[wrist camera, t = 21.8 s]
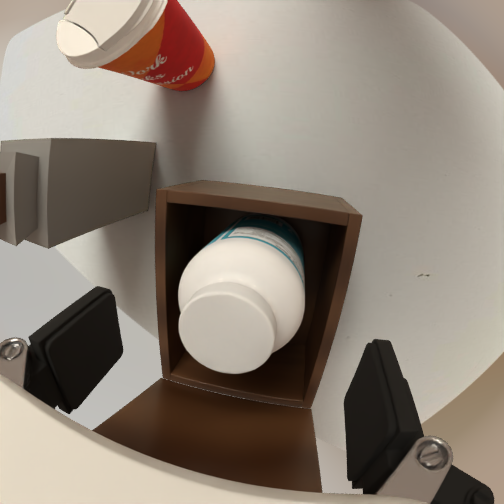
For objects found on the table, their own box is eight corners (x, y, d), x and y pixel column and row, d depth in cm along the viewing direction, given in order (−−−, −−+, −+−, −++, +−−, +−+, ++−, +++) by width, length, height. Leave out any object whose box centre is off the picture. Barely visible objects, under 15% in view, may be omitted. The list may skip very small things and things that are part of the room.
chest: (202, 179, 25) (156, 188, 17) (342, 198, 24) (362, 215, 16) (195, 327, 30) (162, 378, 22) (311, 348, 29) (310, 408, 20)
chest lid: (18, 480, 5) (46, 534, 5) (331, 586, 4) (294, 615, 3) (160, 377, 22) (158, 423, 21) (311, 408, 20) (298, 454, 20)
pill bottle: (242, 300, 27) (195, 401, 15) (208, 230, 26) (125, 292, 13) (316, 275, 25) (324, 376, 13) (285, 197, 24) (265, 236, 11)
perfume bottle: (147, 210, 27) (-5, 273, 10) (97, 200, 28) (-43, 246, 11) (156, 142, 25) (-10, 141, 8) (103, 139, 26) (-47, 146, 9)
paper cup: (139, 89, 24) (35, 58, 10) (174, 25, 21) (93, -39, 8) (203, 113, 24) (109, 75, 10) (242, 44, 21) (186, -43, 8)
